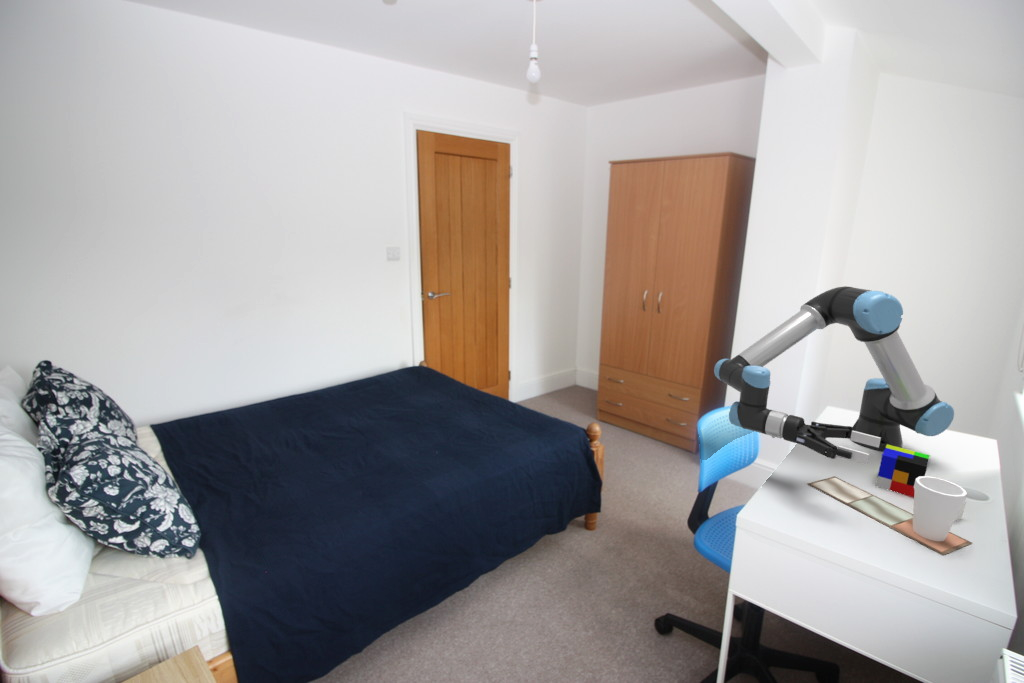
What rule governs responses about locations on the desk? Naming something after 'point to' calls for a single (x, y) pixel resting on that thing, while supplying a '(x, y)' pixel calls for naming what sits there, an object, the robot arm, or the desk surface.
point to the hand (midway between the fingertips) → (874, 450)
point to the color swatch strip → (884, 513)
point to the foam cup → (936, 506)
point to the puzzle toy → (901, 469)
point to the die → (961, 512)
